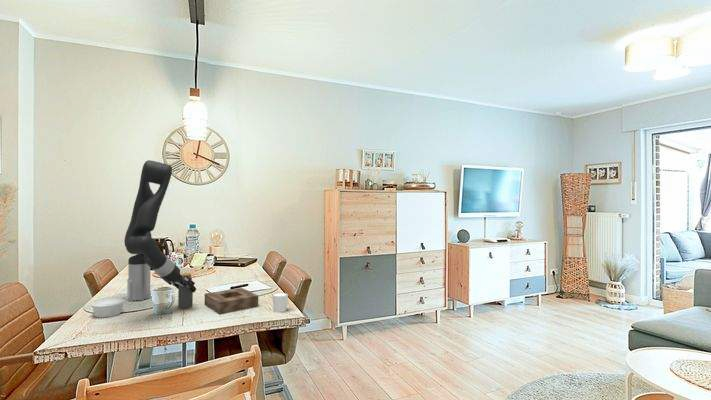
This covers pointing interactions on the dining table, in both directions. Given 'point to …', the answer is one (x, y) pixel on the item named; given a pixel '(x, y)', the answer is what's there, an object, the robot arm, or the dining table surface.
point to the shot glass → (280, 302)
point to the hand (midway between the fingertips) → (188, 289)
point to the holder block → (231, 300)
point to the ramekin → (107, 307)
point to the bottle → (185, 295)
